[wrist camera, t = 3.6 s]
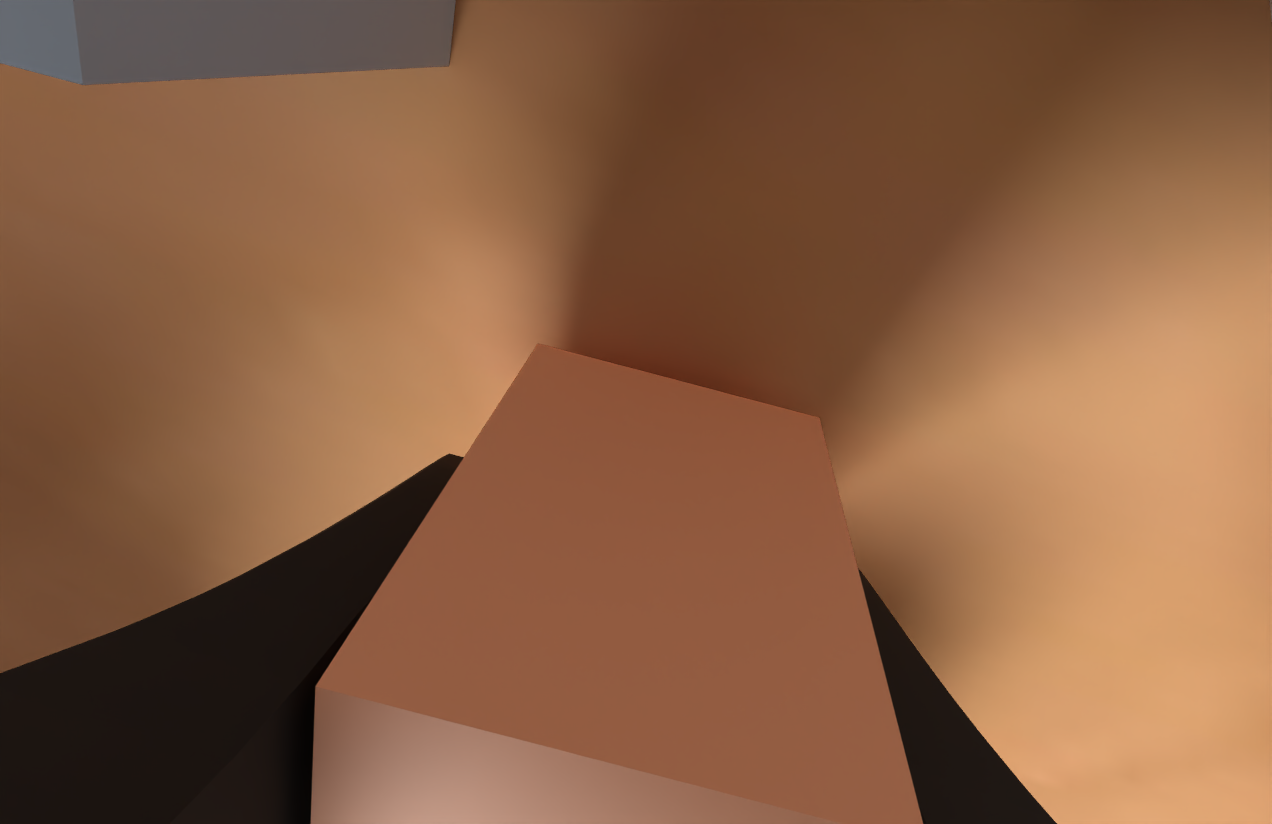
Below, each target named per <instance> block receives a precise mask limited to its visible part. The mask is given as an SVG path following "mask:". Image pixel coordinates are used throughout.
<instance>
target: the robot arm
mask: <svg viewBox="0 0 1272 824" xmlns="http://www.w3.org/2000/svg"><path fill="white" fill-rule="evenodd" d="M463 458H464V457H460V456H456V455H453V454H448V455H446V456H444V457H442V458H440V459H438V460H437V461H435V462H434V463H432V464H430V465H429V466H427V467H426V468H424V469H423V470H421V471H419V472H418V473H416V474H415V475H413V476H412V477H410V478H409V479H407V480H405V481H404V482H402V483H401V484H399V485H398V486H396V487H395V488H393V489H391V490H390V491H388V492H387V493H385V494H383V495H382V496H380V497H379V498H377V499H375V500H374V501H372V502H371V503H369V504H367V505H366V506H364V507H362V508H361V509H359V510H357V511H356V512H354V513H352V514H351V515H349V516H347V517H345V518H344V519H342V520H340V521H339V522H337V523H335V524H334V525H332V526H330V527H329V528H327V529H325V530H324V531H322V532H320V533H318V534H317V535H315V536H313V537H311V538H310V539H308V540H306V541H304V542H302V543H300V544H298V545H297V546H295V547H293V548H291V549H289V550H287V551H285V552H283V553H282V554H280V555H278V556H276V557H274V558H272V559H270V560H268V561H266V562H265V563H263V564H261V565H259V566H257V567H255V568H253V569H251V570H249V571H248V572H246V573H244V574H242V575H240V576H238V577H236V578H234V579H232V580H230V581H228V582H225V583H223V584H221V585H219V586H217V587H215V588H213V589H211V590H209V591H207V592H205V593H203V594H200V595H198V596H196V597H194V598H191V599H189V600H187V601H185V602H182V603H180V604H178V605H175V606H173V607H171V608H168V609H166V610H164V611H161V612H159V613H157V614H155V615H152V616H150V617H148V618H145V619H143V620H141V621H138V622H136V623H133V624H131V625H128V626H126V627H124V628H121V629H119V630H116V631H114V632H111V633H108V634H106V635H103V636H100V637H97V638H95V639H92V640H89V641H87V642H84V643H81V644H79V645H76V646H73V647H70V648H68V649H65V650H62V651H60V652H57V653H54V654H51V655H49V656H46V657H43V658H41V659H38V660H35V661H33V662H30V663H27V664H24V665H22V666H19V667H16V668H14V669H11V670H8V671H6V672H3V673H0V824H311V799H312V770H313V741H314V713H315V686H316V685H317V683H318V682H319V680H320V679H321V677H322V676H323V674H324V672H325V671H326V669H327V668H328V666H329V665H330V663H331V662H332V660H333V659H334V657H335V656H336V654H337V652H338V651H339V649H340V648H341V646H342V645H343V643H344V642H345V640H346V639H347V637H348V635H349V634H350V632H351V631H352V629H353V628H354V626H355V625H356V623H357V622H358V620H359V619H360V617H361V615H362V614H363V612H364V611H365V609H366V608H367V606H368V605H369V603H370V602H371V600H372V598H373V597H374V595H375V594H376V592H377V591H378V589H379V588H380V586H381V585H382V583H383V582H384V580H385V578H386V577H387V575H388V574H389V572H390V571H391V569H392V568H393V566H394V565H395V563H396V561H397V560H398V558H399V557H400V555H401V554H402V552H403V551H404V549H405V548H406V546H407V545H408V543H409V541H410V540H411V538H412V537H413V535H414V534H415V532H416V531H417V529H418V528H419V526H420V524H421V523H422V521H423V520H424V518H425V517H426V515H427V514H428V512H429V511H430V509H431V508H432V506H433V504H434V503H435V501H436V500H437V498H438V497H439V495H440V494H441V492H442V491H443V489H444V488H445V486H446V484H447V483H448V481H449V480H450V478H451V477H452V475H453V474H454V472H455V471H456V469H457V467H458V466H459V464H460V463H461V461H462V460H463ZM858 571H859V575H860V579H861V582H862V586H863V590H864V594H865V598H866V602H867V606H868V610H869V614H870V618H871V622H872V626H873V629H874V633H875V637H876V641H877V645H878V649H879V653H880V657H881V661H882V665H883V669H884V672H885V676H886V680H887V684H888V688H889V692H890V696H891V700H892V704H893V708H894V712H895V716H896V719H897V723H898V727H899V731H900V735H901V739H902V743H903V747H904V751H905V755H906V759H907V762H908V766H909V770H910V774H911V778H912V782H913V786H914V790H915V794H916V798H917V802H918V806H919V809H920V813H921V817H922V821H923V824H1057V823H1056V822H1055V821H1054V820H1053V819H1052V818H1051V817H1050V815H1049V814H1048V813H1047V812H1046V811H1045V810H1044V809H1043V807H1042V806H1041V805H1040V804H1039V803H1038V802H1037V801H1036V799H1035V798H1034V797H1033V796H1032V795H1031V794H1030V793H1029V791H1028V790H1027V789H1026V788H1025V787H1024V786H1023V784H1022V783H1021V782H1020V781H1019V780H1018V778H1017V777H1016V776H1015V775H1014V774H1013V772H1012V771H1011V770H1010V769H1009V767H1008V766H1007V765H1006V764H1005V763H1004V761H1003V760H1002V759H1001V758H1000V757H999V755H998V754H997V753H996V752H995V750H994V749H993V748H992V747H991V746H990V744H989V743H988V742H987V741H986V739H985V738H984V737H983V736H982V735H981V733H980V732H979V731H978V730H977V728H976V727H975V726H974V725H973V723H972V722H971V721H970V719H969V718H968V717H967V716H966V714H965V713H964V712H963V710H962V709H961V708H960V707H959V705H958V704H957V703H956V701H955V700H954V699H953V697H952V696H951V695H950V694H949V692H948V691H947V690H946V688H945V687H944V686H943V684H942V683H941V682H940V680H939V679H938V678H937V676H936V675H935V673H934V672H933V671H932V669H931V668H930V667H929V665H928V664H927V663H926V661H925V660H924V659H923V657H922V656H921V654H920V653H919V652H918V650H917V649H916V648H915V646H914V645H913V643H912V642H911V641H910V639H909V638H908V636H907V635H906V634H905V632H904V631H903V629H902V628H901V627H900V625H899V624H898V622H897V621H896V620H895V618H894V617H893V615H892V614H891V613H890V611H889V610H888V608H887V607H886V606H885V604H884V603H883V601H882V600H881V599H880V597H879V596H878V594H877V593H876V591H875V590H874V589H873V587H872V586H871V585H870V583H869V582H868V580H867V579H866V578H865V576H864V575H863V574H862V572H861V571H860V570H859V568H858Z"/></svg>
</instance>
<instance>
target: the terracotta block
mask: <svg viewBox="0 0 1272 824" xmlns="http://www.w3.org/2000/svg"><path fill="white" fill-rule="evenodd" d="M311 824H923V821H922V817H921V813H920V809H919V806H918V802H917V798H916V794H915V790H914V786H913V782H912V778H911V774H910V770H909V766H908V762H907V759H906V755H905V751H904V747H903V743H902V739H901V735H900V731H899V727H898V723H897V719H896V716H895V712H894V708H893V704H892V700H891V696H890V692H889V688H888V684H887V680H886V676H885V672H884V669H883V665H882V661H881V657H880V653H879V649H878V645H877V641H876V637H875V633H874V629H873V626H872V622H871V618H870V614H869V610H868V606H867V602H866V598H865V594H864V590H863V586H862V582H861V579H860V575H859V571H858V567H857V563H856V559H855V555H854V551H853V547H852V543H851V539H850V535H849V532H848V528H847V524H846V520H845V516H844V512H843V508H842V504H841V500H840V496H839V492H838V489H837V485H836V481H835V477H834V473H833V469H832V465H831V461H830V457H829V453H828V449H827V445H826V442H825V438H824V434H823V430H822V426H821V422H820V418H819V417H815V416H812V415H808V414H804V413H800V412H796V411H793V410H789V409H785V408H781V407H777V406H774V405H770V404H766V403H762V402H758V401H755V400H751V399H747V398H743V397H739V396H736V395H732V394H728V393H724V392H720V391H717V390H713V389H709V388H705V387H701V386H698V385H694V384H690V383H686V382H683V381H679V380H675V379H671V378H667V377H664V376H660V375H656V374H652V373H648V372H645V371H641V370H637V369H633V368H629V367H626V366H622V365H618V364H614V363H610V362H607V361H603V360H599V359H595V358H591V357H588V356H584V355H580V354H576V353H572V352H569V351H565V350H561V349H557V348H553V347H550V346H546V345H542V344H537V346H536V347H535V349H534V350H533V352H532V353H531V355H530V356H529V358H528V360H527V361H526V363H525V364H524V366H523V367H522V369H521V370H520V372H519V373H518V375H517V377H516V378H515V380H514V381H513V383H512V384H511V386H510V387H509V389H508V390H507V392H506V393H505V395H504V397H503V398H502V400H501V401H500V403H499V404H498V406H497V407H496V409H495V410H494V412H493V414H492V415H491V417H490V418H489V420H488V421H487V423H486V424H485V426H484V427H483V429H482V430H481V432H480V434H479V435H478V437H477V438H476V440H475V441H474V443H473V444H472V446H471V447H470V449H469V451H468V452H467V454H466V455H465V457H464V458H463V460H462V461H461V463H460V464H459V466H458V467H457V469H456V471H455V472H454V474H453V475H452V477H451V478H450V480H449V481H448V483H447V484H446V486H445V488H444V489H443V491H442V492H441V494H440V495H439V497H438V498H437V500H436V501H435V503H434V504H433V506H432V508H431V509H430V511H429V512H428V514H427V515H426V517H425V518H424V520H423V521H422V523H421V524H420V526H419V528H418V529H417V531H416V532H415V534H414V535H413V537H412V538H411V540H410V541H409V543H408V545H407V546H406V548H405V549H404V551H403V552H402V554H401V555H400V557H399V558H398V560H397V561H396V563H395V565H394V566H393V568H392V569H391V571H390V572H389V574H388V575H387V577H386V578H385V580H384V582H383V583H382V585H381V586H380V588H379V589H378V591H377V592H376V594H375V595H374V597H373V598H372V600H371V602H370V603H369V605H368V606H367V608H366V609H365V611H364V612H363V614H362V615H361V617H360V619H359V620H358V622H357V623H356V625H355V626H354V628H353V629H352V631H351V632H350V634H349V635H348V637H347V639H346V640H345V642H344V643H343V645H342V646H341V648H340V649H339V651H338V652H337V654H336V656H335V657H334V659H333V660H332V662H331V663H330V665H329V666H328V668H327V669H326V671H325V672H324V674H323V676H322V677H321V679H320V680H319V682H318V683H317V685H316V686H315V713H314V741H313V770H312V799H311Z"/></svg>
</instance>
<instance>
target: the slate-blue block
mask: <svg viewBox="0 0 1272 824" xmlns="http://www.w3.org/2000/svg"><path fill="white" fill-rule="evenodd" d="M455 2H456V0H0V63H2V64H6V65H9V66H13V67H17V68H21V69H24V70H28V71H32V72H36V73H40V74H43V75H47V76H51V77H55V78H58V79H62V80H66V81H70V82H74V83H77V84H81V85H92V84H112V83H131V82H151V81H170V80H190V79H209V78H229V77H248V76H268V75H287V74H307V73H326V72H346V71H365V70H385V69H404V68H424V67H443V66H449V62H450V52H451V42H452V32H453V22H454V12H455Z"/></svg>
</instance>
